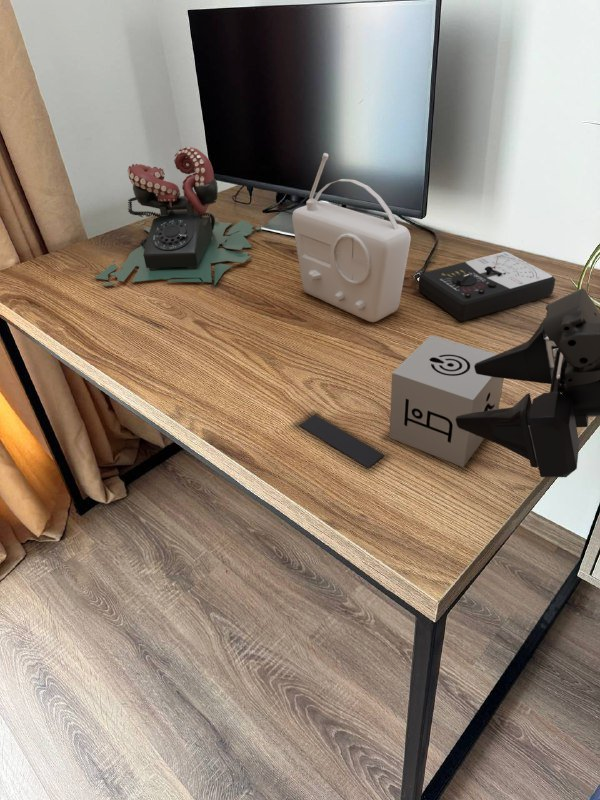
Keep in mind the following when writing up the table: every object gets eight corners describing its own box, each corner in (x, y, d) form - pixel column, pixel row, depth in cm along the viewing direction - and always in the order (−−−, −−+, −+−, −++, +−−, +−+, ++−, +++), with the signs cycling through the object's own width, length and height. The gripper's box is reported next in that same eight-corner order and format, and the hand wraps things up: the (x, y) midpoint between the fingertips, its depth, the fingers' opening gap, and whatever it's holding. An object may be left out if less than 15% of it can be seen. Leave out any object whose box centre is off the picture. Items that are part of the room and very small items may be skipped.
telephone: (137, 224, 143) (117, 136, 131) (265, 220, 140) (256, 129, 128) (86, 289, 115) (55, 185, 103) (244, 285, 112) (231, 178, 100)
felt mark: (384, 456, 72) (384, 454, 72) (368, 468, 70) (368, 467, 70) (315, 415, 79) (314, 414, 79) (299, 426, 78) (299, 425, 77)
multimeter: (416, 292, 106) (418, 266, 103) (503, 268, 111) (507, 243, 108) (460, 323, 96) (463, 296, 93) (553, 296, 101) (559, 269, 98)
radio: (288, 292, 109) (277, 151, 94) (321, 277, 113) (315, 140, 98) (376, 333, 95) (379, 175, 80) (409, 315, 99) (418, 161, 84)
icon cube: (389, 437, 75) (391, 372, 69) (425, 397, 81) (431, 334, 75) (463, 467, 70) (473, 400, 63) (496, 422, 76) (507, 357, 70)
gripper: (641, 246, 52) (466, 278, 60) (646, 355, 39) (421, 376, 47) (651, 353, 57) (488, 369, 65) (658, 482, 44) (453, 481, 52)
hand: (466, 393), depth 57 cm, fingers open, 9 cm apart
